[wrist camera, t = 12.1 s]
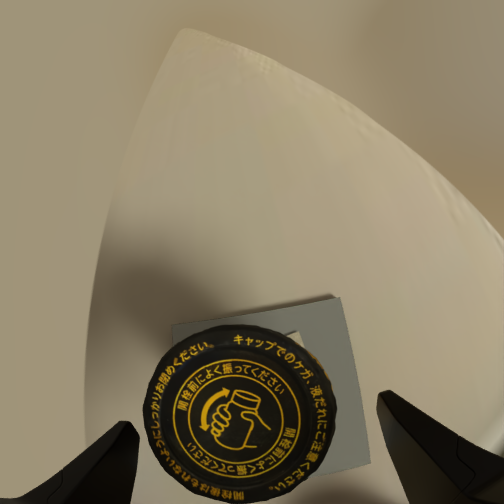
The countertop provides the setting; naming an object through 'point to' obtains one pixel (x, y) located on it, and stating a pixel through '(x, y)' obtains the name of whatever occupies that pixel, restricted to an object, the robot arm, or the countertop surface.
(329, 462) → the slate mat
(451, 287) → the countertop surface
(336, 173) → the countertop surface
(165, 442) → the condiment
